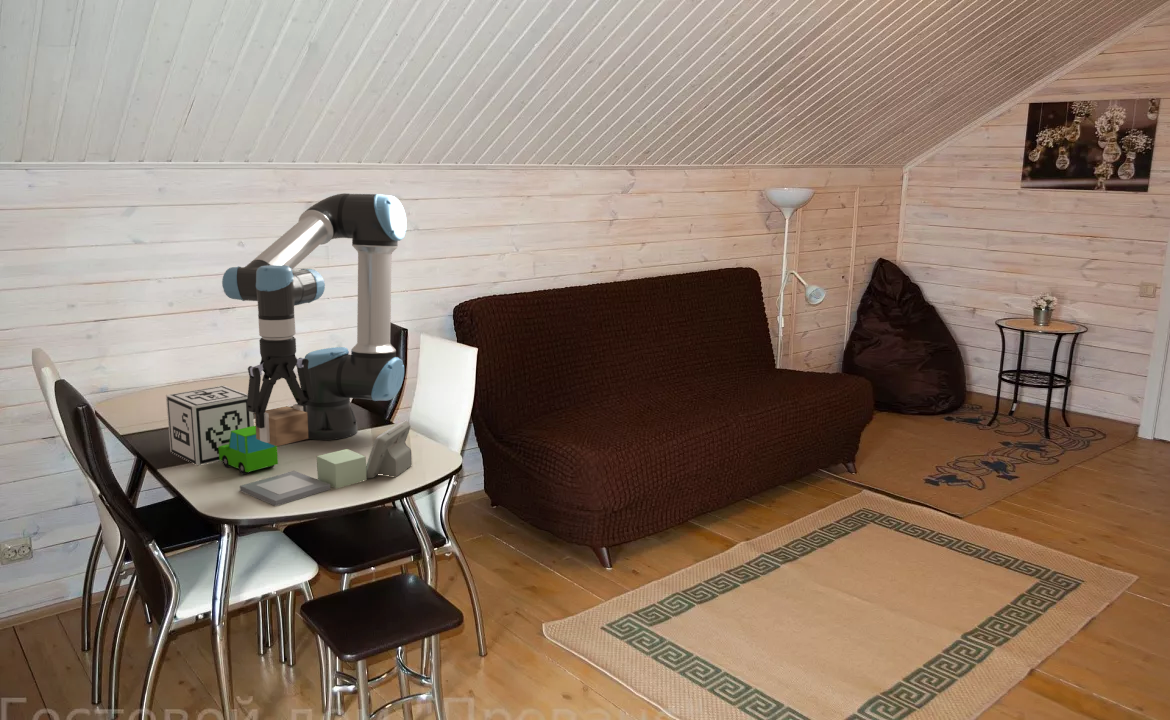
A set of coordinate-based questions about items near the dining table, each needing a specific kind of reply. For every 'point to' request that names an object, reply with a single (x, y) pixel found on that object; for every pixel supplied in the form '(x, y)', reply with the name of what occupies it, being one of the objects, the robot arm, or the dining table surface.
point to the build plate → (284, 487)
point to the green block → (341, 468)
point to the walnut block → (286, 425)
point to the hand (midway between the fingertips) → (282, 436)
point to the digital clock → (390, 452)
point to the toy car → (247, 451)
